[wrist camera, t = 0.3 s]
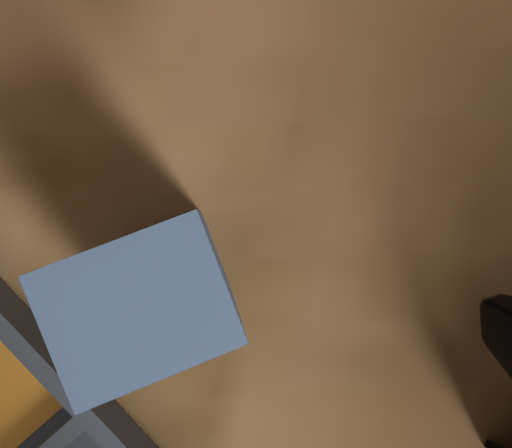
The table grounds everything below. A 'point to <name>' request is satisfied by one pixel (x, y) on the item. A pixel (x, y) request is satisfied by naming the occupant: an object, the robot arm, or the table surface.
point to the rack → (48, 394)
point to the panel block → (135, 310)
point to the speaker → (491, 444)
